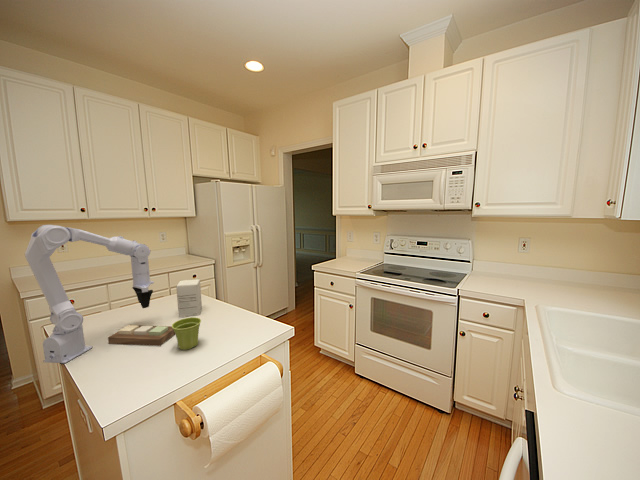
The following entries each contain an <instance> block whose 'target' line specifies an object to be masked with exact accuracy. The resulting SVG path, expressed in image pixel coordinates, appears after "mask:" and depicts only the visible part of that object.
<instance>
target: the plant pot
mask: <svg viewBox="0 0 640 480" xmlns="http://www.w3.org/2000/svg"><path fill="white" fill-rule="evenodd" d="M201 322H202V319H201V318H199V317H196V316H190V317H184V318H181V319H179V320H177V321H175V322H174V323H172V324H171V326H172V328H173V329H174V332H175V338H176V341H177V345H178V348H179V349H180V350H184V351H187V350H190V349H192V348H193V347H196V346H198V344H199V334H200V333H199V332H200V326H201Z"/></svg>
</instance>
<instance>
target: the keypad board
mask: <svg viewBox="0 0 640 480" xmlns="http://www.w3.org/2000/svg"><path fill="white" fill-rule="evenodd" d="M136 325H137V326H139V328H140V327H141V326H147V325H139V324H136ZM152 326H153V328H155V327H157V326H158V325H152ZM165 326H166V327H168V331H167V332H165V333H164V334H162V335H161V336H153V335H149V333H148V334H146V335H134V333H132V334H130V335H127V334H119V330H118V331H117V332H114V333H113V334H111V335H109V336H108V337H107V341H108V342H107V343H108V344H109V345H131V346H133V345H134V346H153V347H154V346H155V347H157V346H159V347H161V346H162V345H164V344H165V343H166V342H168V340H170V339H171V338H172V337H174V336H176V334H175V332H174V329H173V328H172V325H171V326H169V325H168V326H167V325H165Z"/></svg>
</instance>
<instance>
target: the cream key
mask: <svg viewBox="0 0 640 480" xmlns="http://www.w3.org/2000/svg"><path fill="white" fill-rule="evenodd" d="M137 325H138V324H127V325H126V326H124V327H122V328H121V329H119V330H118V331H119V334H127V335H130V334H132V333H134V331H135V330H136V329H138V328H139V326H137Z"/></svg>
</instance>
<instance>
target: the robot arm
mask: <svg viewBox="0 0 640 480" xmlns="http://www.w3.org/2000/svg"><path fill="white" fill-rule="evenodd" d="M79 241H82V242H86V243H91V244H96V245H99V246H104V247H105V248H106V249H107V250H108V251H109V252H112V253H116V254H120V255H124V256H129V257H130V261H131V262H130V264H131V274H132V275H131V277H132V287H131V289H133V290H134V293H135V295H136V297H137V300H138V303H139V304H140V306H141V307H142V309H147V308H149V307H150V302H151V297H152V294H153V292H154V290H153V289H149V287H150V286H151V285H153V284H155V283H154V280H151V275H150V265H149V264H150V263H149V257H150V254H151V249H150V247H149V246H148V245H147V244H143V243H139V242H138V241H137V240H129V239H126V238H124V236H121V235H117V236H111V237H106V236H103V235H100V234H96V233H92V232H90V231H86V230H83V229H79V228H73V227H66V226H63V225H55V224H43V225H41V226H39V227H38V228H36V230H35V231H34V232H32V233H31V235H30V240H29V241H28V245H27V248H26V250H25V252H24V257H25V258H24V259H25V260H26V261H27V264H28V266H29V268H30V270H31V272H32V274H33V276H34V277H35V280H36V282H37V284H38V286H39V289H40V291H41V292H42V294H43V296H44V298H45V300H46V302H47V305H48V308H49V309H48V310H49V312H50V316H49V321H50V322H51V324H52V325H54V327H53V329H52V333H51V335H49V336H47V338H45V339H44V340H43V342H42V349H43V356H44V360H43V361H42V363H53V364H66V363H68V362H70V361H72V360H73V359H76V358H77V357H78V356H81V355H82V354H84V353H86V352H89V350H91V349H93V346H91V345H86V344H85V336H84V335H85V334H84V326H83V322H84V316H83V315H82V314H81V313H79V312H77V310H76V308H75V307H74V305H73V303H72V302H71V301H70V299H69V296H68V294H67V292H66V290H65V288H64V285H63V283H62V281H61V280H60V278H59V275H58V273H57V271H56V268H55V266H54V264H53V262H52V259H51V258H50V257H51V256H52V255H53V254H54V253H55V251H57V249H59V248H60V247H62V246H64V245H65V244H67V243H68V242H71V243H73V242H79Z"/></svg>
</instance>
